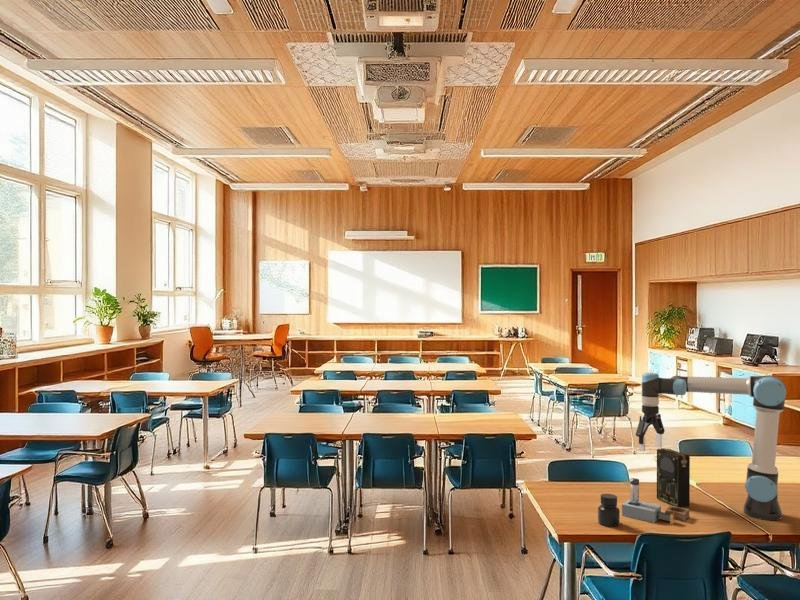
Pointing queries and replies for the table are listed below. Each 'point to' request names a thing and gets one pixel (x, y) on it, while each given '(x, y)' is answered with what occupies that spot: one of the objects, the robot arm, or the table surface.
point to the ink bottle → (609, 511)
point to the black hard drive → (673, 477)
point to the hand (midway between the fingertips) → (650, 449)
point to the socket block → (641, 511)
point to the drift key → (667, 516)
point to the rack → (679, 513)
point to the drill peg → (634, 491)
